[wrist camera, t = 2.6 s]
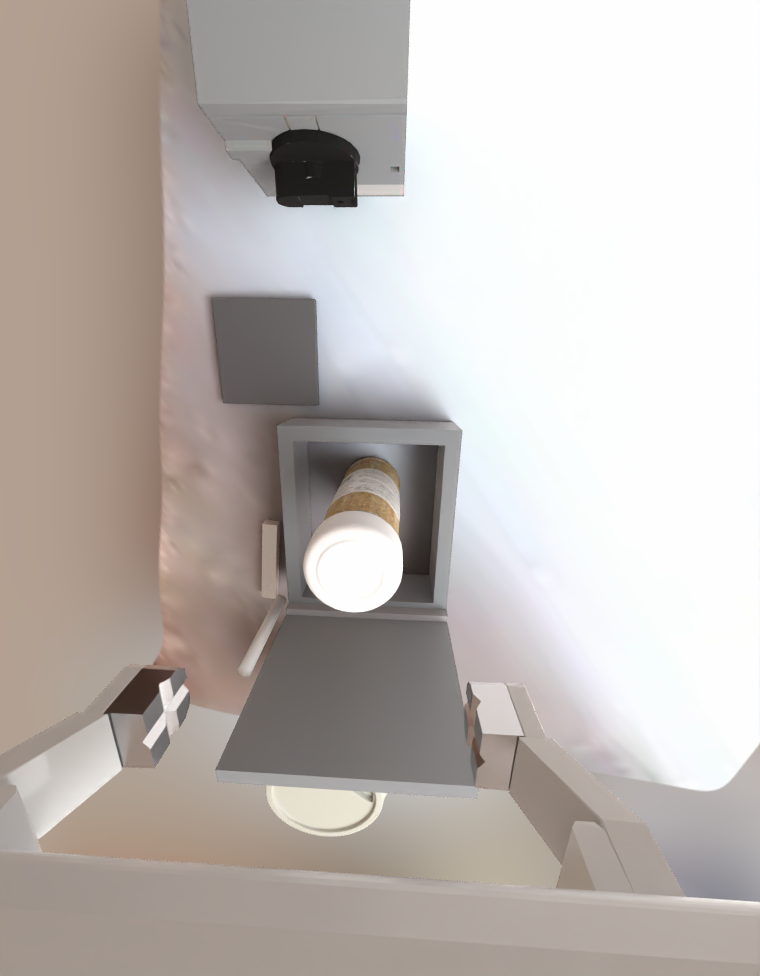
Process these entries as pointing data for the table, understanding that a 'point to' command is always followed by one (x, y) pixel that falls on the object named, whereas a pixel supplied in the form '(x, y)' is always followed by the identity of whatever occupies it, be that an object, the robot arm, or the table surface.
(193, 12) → the circuit breaker
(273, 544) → the rod
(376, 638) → the case
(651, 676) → the table surface
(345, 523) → the sprinkles bottle
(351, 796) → the coffee cup
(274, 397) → the pad
